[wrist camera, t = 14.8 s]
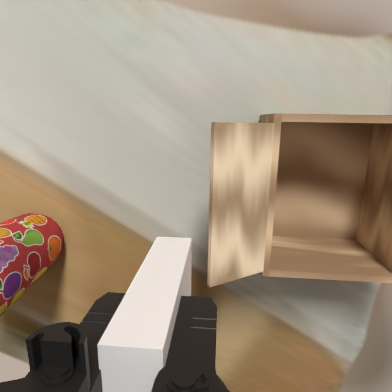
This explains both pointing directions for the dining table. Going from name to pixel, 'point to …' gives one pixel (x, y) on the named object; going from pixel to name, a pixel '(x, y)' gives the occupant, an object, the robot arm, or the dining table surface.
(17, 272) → the smoothie
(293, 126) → the carton
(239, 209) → the flap
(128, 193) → the dining table surface
